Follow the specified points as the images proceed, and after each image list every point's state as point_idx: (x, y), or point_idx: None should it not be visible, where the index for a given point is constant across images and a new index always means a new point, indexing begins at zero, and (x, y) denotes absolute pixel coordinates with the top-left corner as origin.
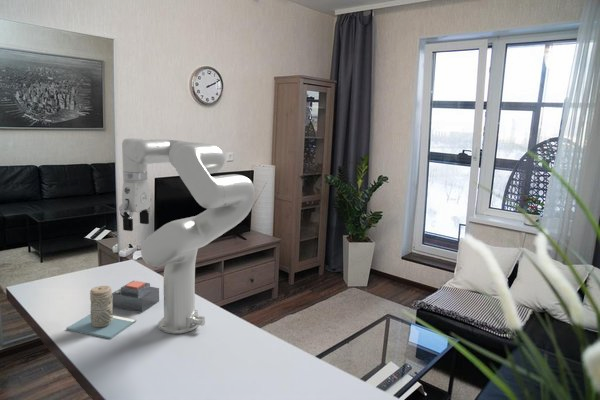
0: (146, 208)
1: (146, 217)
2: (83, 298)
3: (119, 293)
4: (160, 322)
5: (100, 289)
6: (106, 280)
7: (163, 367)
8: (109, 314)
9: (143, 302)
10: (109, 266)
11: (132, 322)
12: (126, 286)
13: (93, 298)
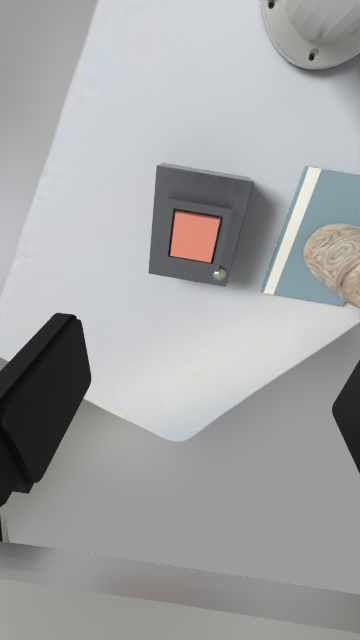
0: (75, 596)
1: (44, 376)
2: (192, 342)
3: (222, 267)
4: (347, 53)
5: None
6: (97, 344)
7: None
8: (358, 228)
9: (243, 178)
10: None
11: (321, 169)
12: (210, 259)
13: None
